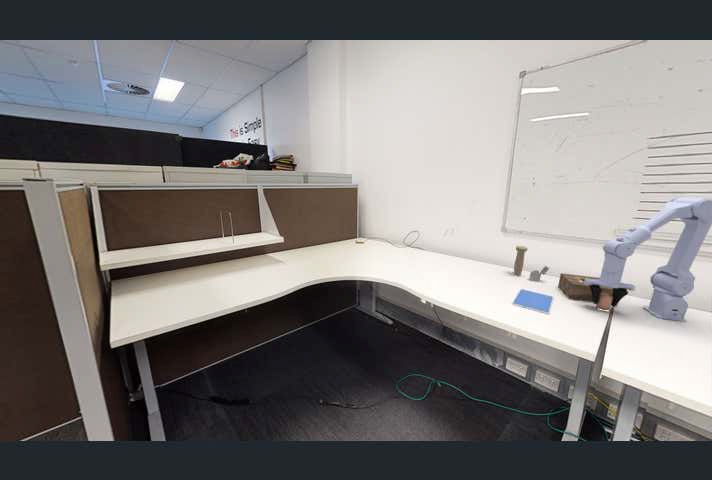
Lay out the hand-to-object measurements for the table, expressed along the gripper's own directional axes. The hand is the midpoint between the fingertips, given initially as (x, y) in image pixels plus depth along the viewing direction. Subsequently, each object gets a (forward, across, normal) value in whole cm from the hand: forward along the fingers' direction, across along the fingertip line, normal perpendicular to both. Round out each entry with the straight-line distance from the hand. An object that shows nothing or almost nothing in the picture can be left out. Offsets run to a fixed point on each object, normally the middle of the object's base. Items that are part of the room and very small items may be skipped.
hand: (603, 304), depth 103 cm
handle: (+2, -24, +31) cm, 39 cm away
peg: (+2, 0, 0) cm, 2 cm away
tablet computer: (+3, -24, -3) cm, 24 cm away
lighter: (+2, -16, +25) cm, 30 cm away
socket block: (+2, -1, +13) cm, 13 cm away
